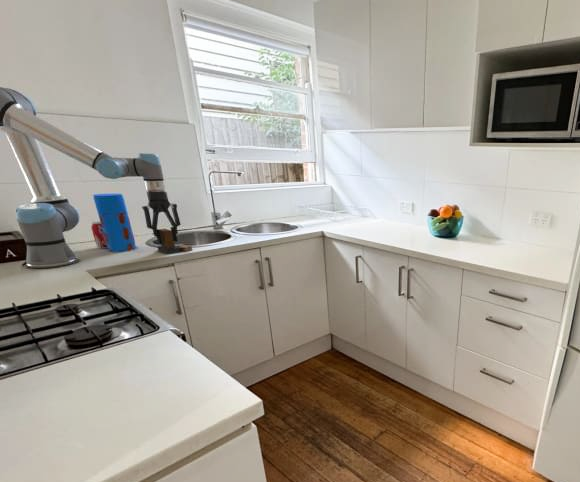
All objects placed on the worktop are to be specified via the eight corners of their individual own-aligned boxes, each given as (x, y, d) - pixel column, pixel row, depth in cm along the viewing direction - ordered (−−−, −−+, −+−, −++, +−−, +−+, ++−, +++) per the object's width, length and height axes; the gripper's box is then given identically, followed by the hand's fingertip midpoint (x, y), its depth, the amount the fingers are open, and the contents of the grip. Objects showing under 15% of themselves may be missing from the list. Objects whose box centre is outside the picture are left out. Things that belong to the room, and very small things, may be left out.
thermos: (103, 249, 179) (87, 194, 170) (128, 245, 188) (114, 192, 178) (116, 252, 174) (100, 196, 165) (141, 248, 183) (127, 194, 174)
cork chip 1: (176, 250, 181) (175, 246, 180) (173, 249, 183) (172, 244, 182) (185, 249, 184) (184, 244, 183) (182, 247, 186) (181, 243, 185)
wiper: (166, 254, 174) (161, 232, 170) (158, 250, 180) (153, 229, 176) (180, 251, 178) (176, 230, 175) (172, 248, 184) (167, 227, 180)
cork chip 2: (178, 251, 180) (177, 246, 179) (185, 249, 183) (184, 245, 183) (185, 251, 179) (184, 247, 178) (192, 249, 182) (191, 245, 182)
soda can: (100, 249, 179) (92, 224, 174) (95, 247, 183) (87, 222, 178) (117, 247, 184) (110, 222, 179) (112, 245, 188) (105, 220, 183)
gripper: (134, 192, 160) (148, 246, 169) (182, 190, 174) (192, 240, 182) (128, 191, 164) (141, 244, 173) (175, 189, 178) (185, 238, 187)
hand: (167, 242), depth 178 cm, fingers open, 6 cm apart
